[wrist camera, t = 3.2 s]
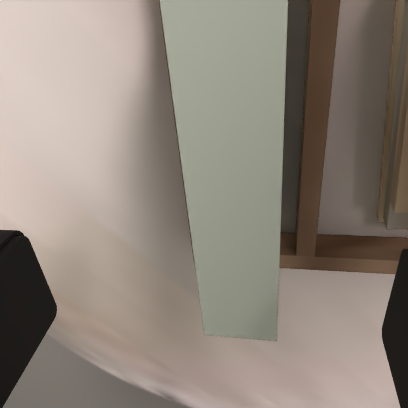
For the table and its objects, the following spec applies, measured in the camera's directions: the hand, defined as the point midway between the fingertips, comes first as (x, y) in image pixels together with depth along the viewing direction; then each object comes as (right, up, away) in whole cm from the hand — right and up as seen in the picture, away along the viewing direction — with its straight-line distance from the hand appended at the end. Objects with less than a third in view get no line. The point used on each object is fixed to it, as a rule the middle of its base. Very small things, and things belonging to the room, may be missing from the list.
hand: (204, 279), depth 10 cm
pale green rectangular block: (+2, +7, +9) cm, 12 cm away
